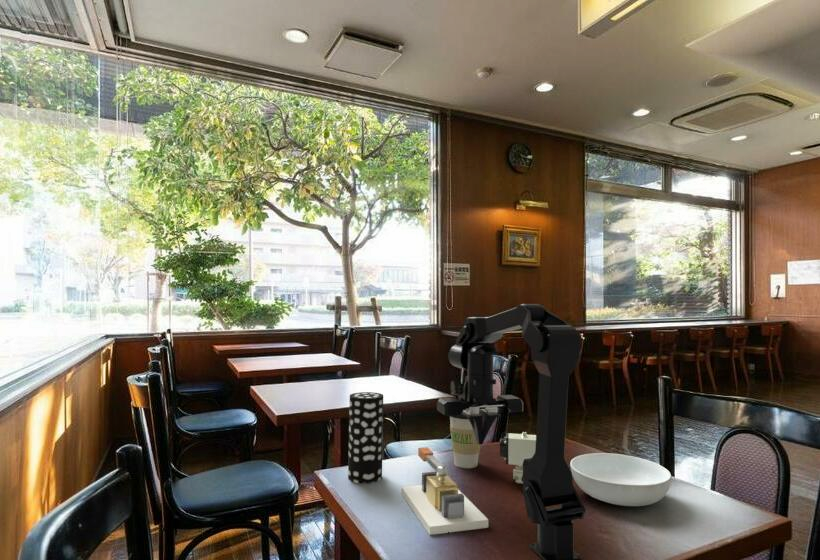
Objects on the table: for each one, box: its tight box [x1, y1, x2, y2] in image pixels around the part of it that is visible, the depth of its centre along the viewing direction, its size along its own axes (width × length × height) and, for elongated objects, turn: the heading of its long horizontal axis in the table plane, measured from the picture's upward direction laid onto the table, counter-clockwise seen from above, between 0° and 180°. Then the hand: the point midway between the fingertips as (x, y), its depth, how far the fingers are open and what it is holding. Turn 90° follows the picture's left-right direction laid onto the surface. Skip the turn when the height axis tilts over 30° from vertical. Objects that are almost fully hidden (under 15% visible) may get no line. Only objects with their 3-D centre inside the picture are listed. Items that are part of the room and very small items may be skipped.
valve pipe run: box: [421, 471, 465, 519], centre depth 103 cm, size 16×5×4 cm, turn 16°
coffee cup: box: [449, 405, 482, 469], centre depth 131 cm, size 10×10×15 cm
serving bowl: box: [569, 452, 672, 507], centre depth 110 cm, size 21×21×7 cm
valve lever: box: [417, 446, 448, 481], centre depth 109 cm, size 14×2×3 cm, turn 16°
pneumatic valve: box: [499, 431, 536, 485], centre depth 119 cm, size 6×12×12 cm, turn 78°
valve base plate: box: [400, 484, 489, 536], centre depth 103 cm, size 20×12×2 cm, turn 16°
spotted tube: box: [347, 391, 384, 484], centre depth 121 cm, size 8×8×20 cm
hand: (479, 444), depth 109 cm, fingers closed
